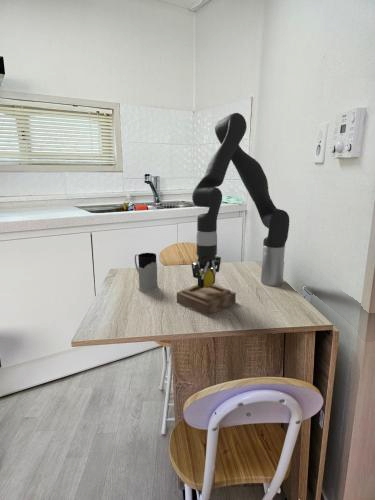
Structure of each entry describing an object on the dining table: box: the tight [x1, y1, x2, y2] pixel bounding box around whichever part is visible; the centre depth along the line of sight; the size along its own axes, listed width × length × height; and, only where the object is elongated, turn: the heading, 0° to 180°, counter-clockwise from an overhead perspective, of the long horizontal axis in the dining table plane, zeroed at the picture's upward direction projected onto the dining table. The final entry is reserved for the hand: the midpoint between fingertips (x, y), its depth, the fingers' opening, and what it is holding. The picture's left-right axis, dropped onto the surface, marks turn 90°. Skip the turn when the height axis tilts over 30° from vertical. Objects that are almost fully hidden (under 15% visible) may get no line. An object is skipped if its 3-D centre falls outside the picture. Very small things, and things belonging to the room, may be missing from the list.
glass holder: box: [134, 252, 159, 293], centre depth 134 cm, size 9×14×15 cm, turn 41°
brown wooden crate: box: [176, 284, 237, 316], centre depth 119 cm, size 16×16×5 cm
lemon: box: [200, 269, 214, 288], centre depth 117 cm, size 6×6×8 cm
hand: (206, 285), depth 118 cm, fingers closed on lemon, 5 cm apart
